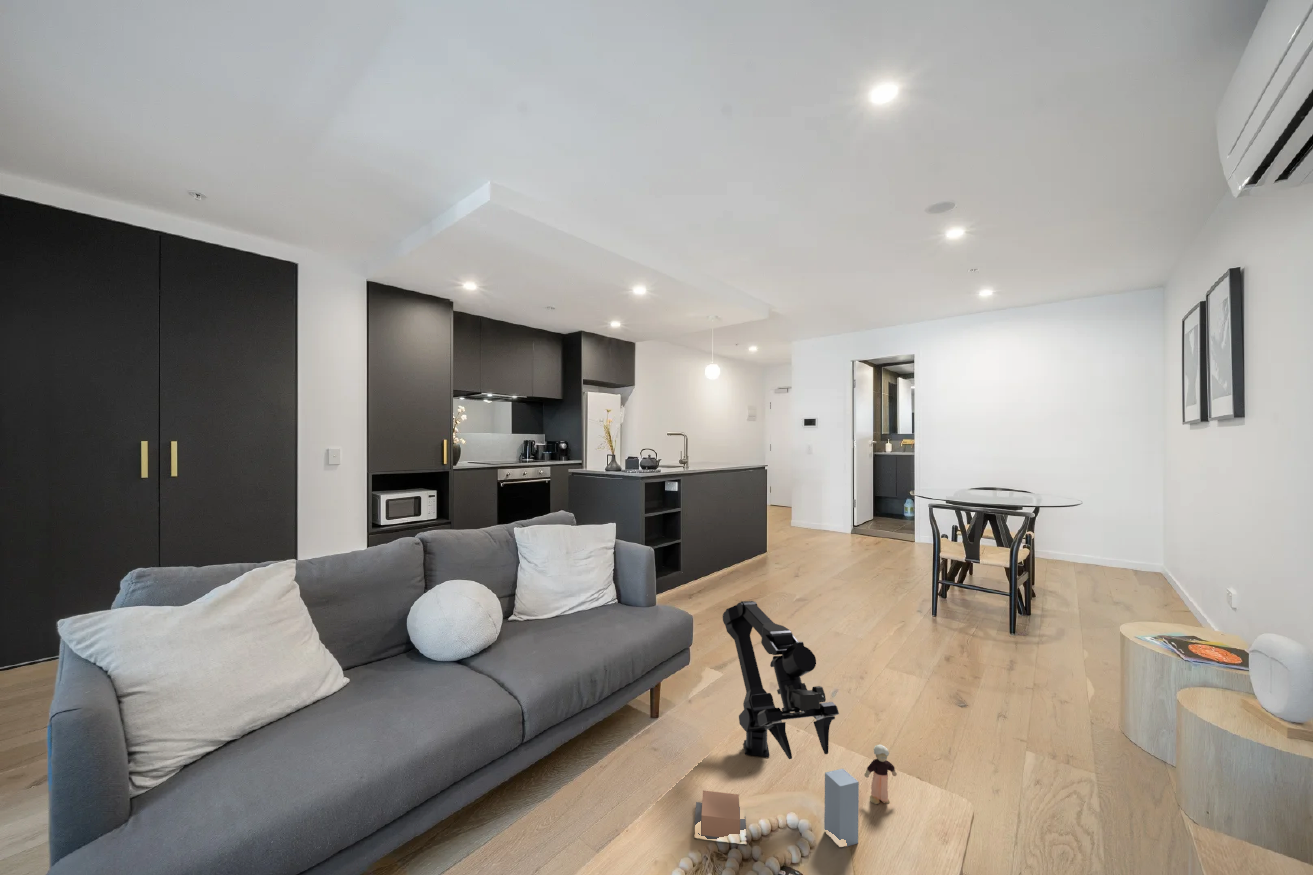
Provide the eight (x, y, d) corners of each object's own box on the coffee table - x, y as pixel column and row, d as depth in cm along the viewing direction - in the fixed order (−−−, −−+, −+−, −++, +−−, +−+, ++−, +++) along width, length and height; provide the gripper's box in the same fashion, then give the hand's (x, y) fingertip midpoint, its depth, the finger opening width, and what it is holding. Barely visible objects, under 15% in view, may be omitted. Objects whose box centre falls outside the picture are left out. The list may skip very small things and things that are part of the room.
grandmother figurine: (873, 807, 116) (873, 751, 116) (862, 796, 119) (862, 742, 120) (900, 802, 118) (901, 747, 118) (889, 792, 121) (889, 738, 122)
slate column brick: (824, 831, 108) (824, 772, 108) (842, 827, 109) (842, 768, 110) (839, 848, 103) (840, 786, 104) (858, 843, 105) (858, 781, 105)
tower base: (696, 806, 115) (696, 783, 115) (744, 811, 113) (745, 789, 113) (693, 838, 105) (694, 814, 105) (747, 845, 103) (747, 820, 104)
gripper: (767, 677, 114) (786, 757, 105) (839, 670, 119) (863, 746, 110) (749, 688, 123) (766, 763, 114) (817, 681, 128) (837, 753, 118)
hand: (808, 756), depth 114 cm, fingers open, 9 cm apart
